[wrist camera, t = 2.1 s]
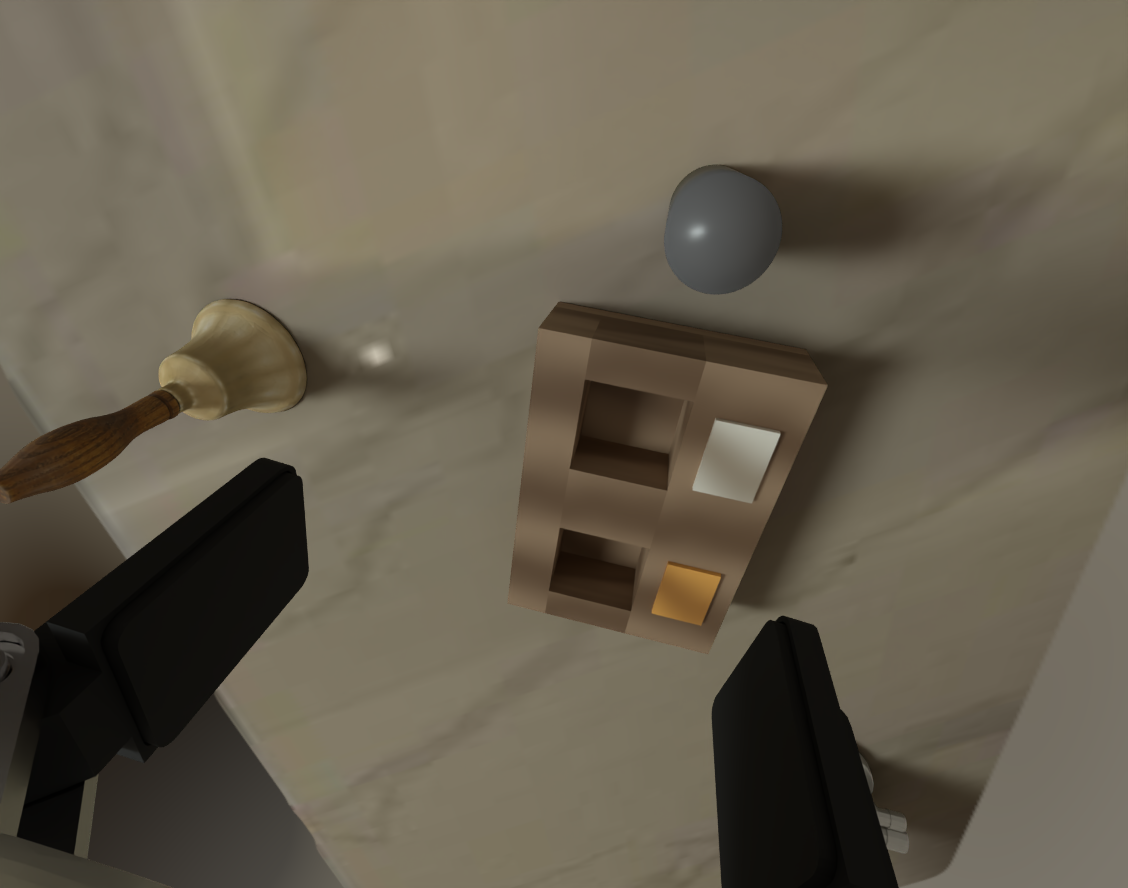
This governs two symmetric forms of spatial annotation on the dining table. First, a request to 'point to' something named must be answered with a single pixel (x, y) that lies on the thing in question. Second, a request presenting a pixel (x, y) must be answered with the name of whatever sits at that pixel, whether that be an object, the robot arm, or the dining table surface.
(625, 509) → the socket block
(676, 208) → the plug
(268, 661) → the dining table surface
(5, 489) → the hand bell
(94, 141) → the dining table surface
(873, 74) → the dining table surface
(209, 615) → the robot arm
